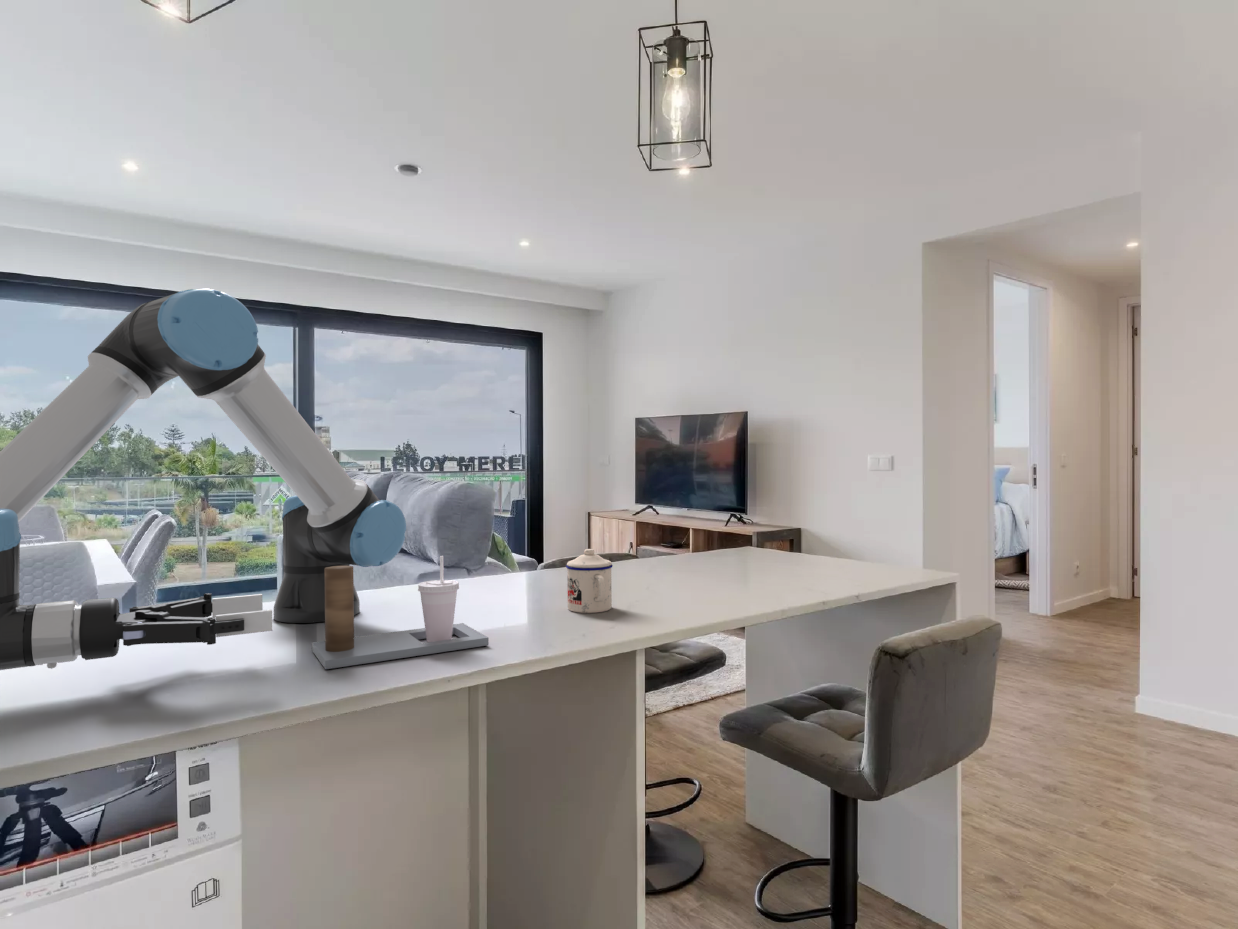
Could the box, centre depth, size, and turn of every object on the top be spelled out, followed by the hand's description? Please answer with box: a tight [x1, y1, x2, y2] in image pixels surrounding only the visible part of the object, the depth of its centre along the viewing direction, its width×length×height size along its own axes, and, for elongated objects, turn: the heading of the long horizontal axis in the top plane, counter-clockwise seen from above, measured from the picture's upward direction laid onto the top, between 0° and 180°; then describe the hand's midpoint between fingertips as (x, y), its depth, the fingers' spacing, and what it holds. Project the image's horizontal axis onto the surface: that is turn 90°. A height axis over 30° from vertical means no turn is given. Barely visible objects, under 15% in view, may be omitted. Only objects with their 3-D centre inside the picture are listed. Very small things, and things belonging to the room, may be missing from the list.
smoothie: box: [417, 555, 460, 643], centre depth 115 cm, size 6×6×14 cm
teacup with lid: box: [565, 548, 613, 614], centre depth 139 cm, size 12×9×12 cm
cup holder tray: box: [311, 565, 490, 670], centre depth 111 cm, size 12×24×13 cm, turn 121°
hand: (267, 611), depth 102 cm, fingers open, 13 cm apart
